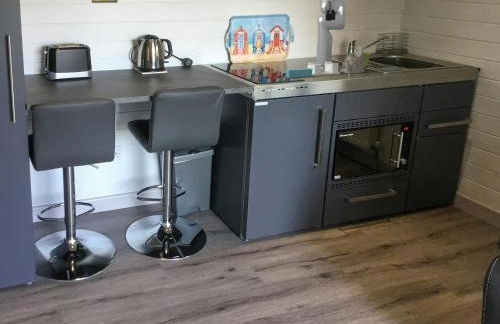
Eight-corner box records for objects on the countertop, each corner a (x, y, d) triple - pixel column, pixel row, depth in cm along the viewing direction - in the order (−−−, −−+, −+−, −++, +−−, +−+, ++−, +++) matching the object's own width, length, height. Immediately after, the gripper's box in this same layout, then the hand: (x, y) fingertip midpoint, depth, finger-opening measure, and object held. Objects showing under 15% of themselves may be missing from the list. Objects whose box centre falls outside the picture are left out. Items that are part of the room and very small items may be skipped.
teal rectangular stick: (285, 77, 325) (285, 69, 324) (308, 75, 331) (308, 67, 330) (289, 78, 322) (289, 70, 320) (312, 76, 328) (312, 69, 326)
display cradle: (304, 72, 339) (305, 62, 337) (330, 71, 347) (331, 61, 345) (313, 75, 331) (314, 65, 329) (340, 73, 338) (340, 63, 336)
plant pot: (351, 65, 368) (352, 52, 365) (364, 65, 371) (365, 51, 368) (359, 68, 360) (360, 54, 357) (372, 67, 363) (373, 53, 360)
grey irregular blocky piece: (355, 67, 360) (356, 43, 354) (369, 73, 345) (370, 48, 340) (333, 70, 355) (333, 46, 349) (346, 76, 340) (347, 50, 335)
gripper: (329, -11, 333) (327, 19, 338) (321, -12, 318) (320, 20, 322) (342, -11, 330) (340, 20, 335) (335, -11, 315) (333, 21, 320)
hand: (330, 20), depth 329 cm, fingers open, 9 cm apart
